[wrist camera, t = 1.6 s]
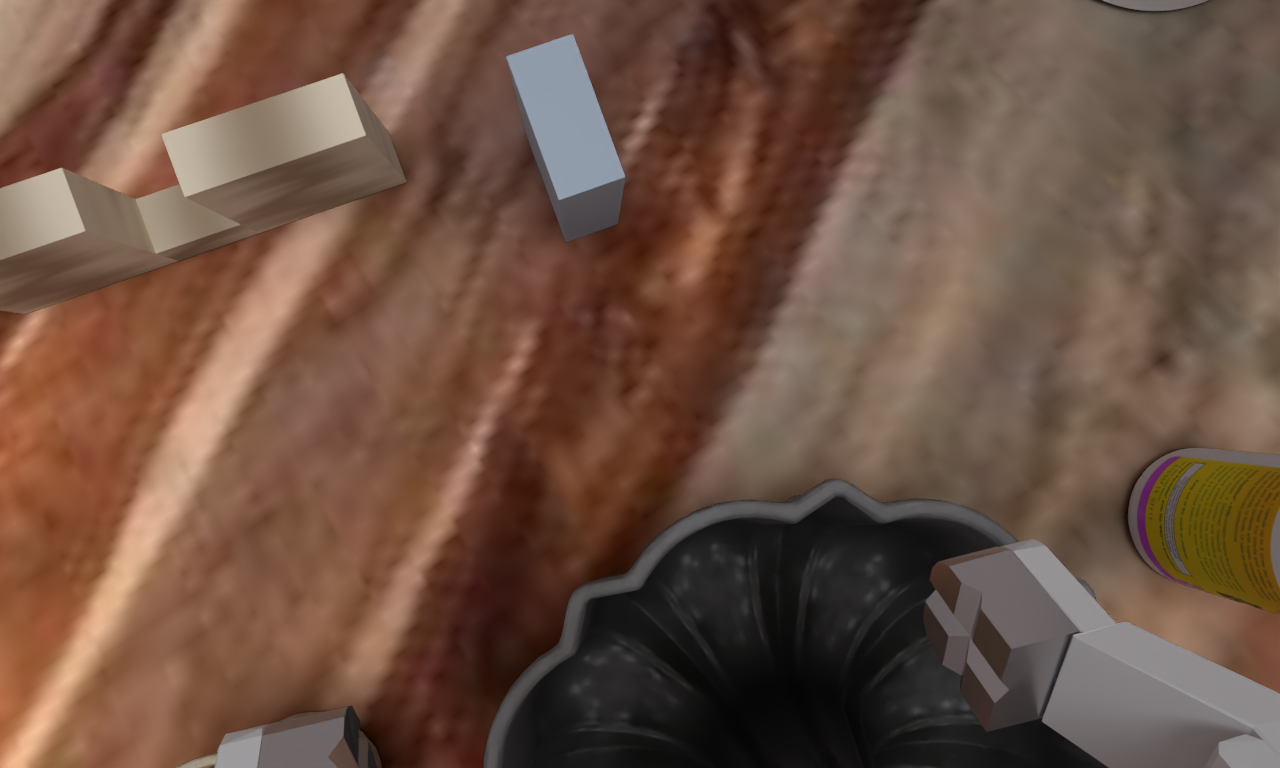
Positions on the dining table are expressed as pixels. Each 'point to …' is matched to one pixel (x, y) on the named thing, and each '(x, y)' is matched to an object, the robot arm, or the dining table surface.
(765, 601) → the bundt pan
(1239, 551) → the supplement bottle
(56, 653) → the dining table surface
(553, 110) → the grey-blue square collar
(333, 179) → the beech slot board
